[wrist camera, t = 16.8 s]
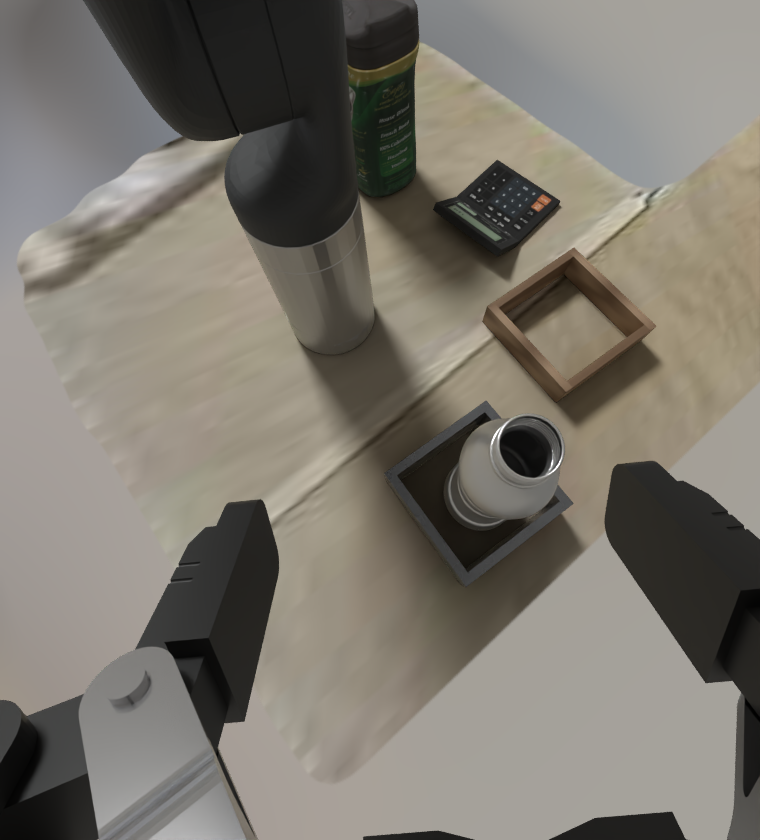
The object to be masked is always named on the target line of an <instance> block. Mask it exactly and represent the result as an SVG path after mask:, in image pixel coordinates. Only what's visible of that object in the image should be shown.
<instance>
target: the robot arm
mask: <svg viewBox="0 0 760 840" xmlns="http://www.w3.org/2000/svg"><path fill="white" fill-rule="evenodd" d="M83 1H84V2H85V4H86V6H87V7H88V8H89V10H90V12H91V13H92V15H93V16H94V18H95V20H96V21H97V23H98V25H99V26H100V28H101V29H102V31H103V33H104V34H105V36H106V37H107V39H108V41H109V42H110V44H111V45H112V47H113V48H114V50H115V52H116V53H117V55H118V57H119V58H120V60H121V61H122V63H123V64H124V66H125V67H126V69H127V70H128V72H129V73H130V75H131V76H132V78H133V79H134V81H135V82H136V84H137V85H138V87H139V89H140V90H141V91H142V93H143V95H144V96H145V97H146V99H147V100H148V101H149V103H150V104H151V105H152V107H153V108H154V109H155V110H156V112H157V113H158V114H159V115H160V116H161V117H162V118H163V120H165V121H166V122H167V123H168V124H169V125H170V126H171V127H172V128H173V129H174V130H175V131H177V132H178V133H179V134H181V135H182V136H184V137H186V138H188V139H191V140H195V141H218V140H225V139H229V138H233V137H237V136H239V134H240V133H241V134H242V135H244V134H245V135H244V136H243V137H242V138H241V139H240V140H239V141H238V143H237V144H236V145H235V147H234V148H233V150H232V152H231V154H230V156H229V158H228V161H227V164H226V168H225V176H224V178H225V188H226V193H227V196H228V199H229V201H230V204H231V206H232V208H233V210H234V212H235V214H236V216H237V218H238V220H239V222H240V224H241V226H242V228H243V230H244V232H245V234H246V236H247V238H248V240H249V242H250V244H251V246H252V248H253V250H254V252H255V254H256V256H257V258H258V260H259V262H260V264H261V266H262V268H263V270H264V272H265V274H266V276H267V278H268V280H269V282H270V284H271V286H272V288H273V290H274V292H275V294H276V296H277V298H278V301H279V303H280V305H281V307H282V309H283V311H284V313H285V315H286V317H287V319H288V321H289V323H290V325H291V327H292V329H293V331H294V333H295V335H296V337H297V338H298V340H299V341H300V342H301V343H302V344H303V345H304V346H305V347H306V348H308V349H310V350H312V351H314V352H317V353H321V354H328V355H333V354H341V353H344V352H347V351H350V350H352V349H354V348H355V347H357V346H358V345H359V344H361V343H362V342H363V341H364V340H365V339H366V337H367V336H368V335H369V333H370V331H371V329H372V327H373V323H374V304H373V297H372V288H371V280H370V273H369V265H368V257H367V250H366V242H365V234H364V227H363V219H362V213H361V205H360V197H359V190H358V181H357V174H356V161H355V152H354V143H353V134H352V123H351V110H350V95H349V78H348V61H347V46H346V34H345V24H344V13H343V3H342V0H83ZM605 529H606V534H607V537H608V539H609V542H610V543H611V546H612V547H613V549H614V550H615V551H616V553H617V554H618V556H619V557H620V559H621V560H622V562H623V563H624V564H625V566H626V568H627V569H628V571H629V572H630V573H631V575H632V576H633V578H634V579H635V581H636V582H637V584H638V585H639V587H640V588H641V589H642V591H643V592H644V594H645V595H646V597H647V598H648V600H649V601H650V602H651V604H652V605H653V607H654V608H655V610H656V611H657V613H658V614H659V615H660V617H661V619H662V620H663V622H664V623H665V624H666V626H667V627H668V629H669V630H670V632H671V633H672V635H673V636H674V637H675V639H676V640H677V642H678V643H679V645H680V646H681V648H682V649H683V651H684V652H685V654H686V655H687V657H688V658H689V659H690V661H691V662H692V664H693V665H694V667H695V668H696V670H697V671H698V673H699V674H700V676H701V677H702V678H703V680H704V681H705V683H713V682H724V681H733V682H734V683H735V685H736V686H737V687H738V689H739V690H740V691H741V695H740V697H739V700H738V704H737V729H736V731H737V732H736V761H735V792H734V793H735V794H734V810H733V816H732V821H731V826H730V829H729V833H728V837H727V840H760V539H758V538H757V537H756V536H755V535H754V534H753V533H752V532H750V531H749V530H748V529H746V530H745V529H744V525H743V524H741V523H740V522H739V521H738V520H737V519H736V518H735V517H734V516H733V515H729V514H728V511H727V510H726V509H725V508H724V507H723V506H721V505H720V504H719V503H718V502H717V501H716V500H714V498H712V497H711V496H710V495H709V494H707V493H705V492H704V491H702V490H699V489H698V488H696V487H694V486H692V485H690V484H688V483H686V482H684V481H676V480H675V479H674V478H673V477H672V476H671V475H670V474H669V473H668V472H667V471H666V470H665V469H664V468H663V467H662V466H661V465H659V464H658V463H657V462H655V461H645V462H635V463H625V464H617V465H616V466H615V467H614V468H613V471H612V476H611V482H610V488H609V494H608V500H607V507H606V513H605ZM278 573H279V556H278V550H277V546H276V542H275V539H274V535H273V531H272V528H271V524H270V521H269V517H268V514H267V510H266V507H265V504H264V502H263V501H262V500H261V499H260V500H250V501H240V502H230V503H227V505H226V506H225V508H224V510H223V512H222V515H221V517H220V519H219V521H218V523H217V526H213V527H205V528H204V529H203V530H202V531H201V532H200V533H199V534H198V535H197V536H196V537H195V538H194V539H193V540H192V541H191V542H190V543H189V544H188V546H187V548H186V550H185V552H184V554H183V556H182V558H181V560H180V562H179V567H177V568H176V570H175V572H174V574H173V576H172V578H171V583H170V584H168V586H167V588H166V590H165V592H164V593H163V596H162V597H161V600H160V602H159V603H158V605H157V608H156V609H155V612H154V613H153V615H152V617H151V619H150V621H149V623H148V625H147V627H146V629H145V631H144V633H143V635H142V637H141V639H140V641H139V643H138V645H137V647H136V649H135V650H133V651H131V652H128V653H126V654H125V655H122V656H121V657H119V658H117V659H116V660H115V661H113V662H111V663H110V664H109V665H108V666H106V667H105V668H104V669H103V670H102V671H101V672H100V673H99V674H98V675H97V676H96V678H95V679H94V680H93V681H92V682H91V684H90V685H89V687H88V688H87V690H86V692H85V693H84V694H83V695H80V696H78V697H75V698H73V699H71V700H68V701H65V702H62V703H60V704H57V705H55V706H52V707H49V708H47V709H44V710H42V711H39V712H37V713H34V714H31V715H29V716H26V715H25V714H24V713H23V712H22V711H21V709H20V708H19V707H18V706H17V705H16V704H15V703H13V702H11V701H6V700H0V840H97V839H99V840H258V838H257V836H256V834H255V831H254V829H253V827H252V824H251V822H250V820H249V818H248V815H247V813H246V811H245V808H244V806H243V803H242V801H241V799H240V796H239V794H238V792H237V790H236V787H235V785H234V783H233V780H232V778H231V776H230V773H229V771H228V769H227V766H226V764H225V762H224V759H223V757H222V755H221V753H220V750H219V748H218V744H219V741H220V737H221V733H222V730H223V726H224V723H232V722H244V721H245V717H246V712H247V708H248V703H249V700H250V695H251V690H252V687H253V682H254V678H255V674H256V669H257V665H258V661H259V656H260V652H261V648H262V643H263V639H264V635H265V630H266V626H267V622H268V617H269V613H270V609H271V605H272V600H273V596H274V592H275V587H276V583H277V579H278ZM363 840H473V839H469V838H465V837H461V836H457V835H454V834H449V833H446V832H441V831H427V832H415V833H402V834H390V835H377V836H366V837H363ZM549 840H686V839H685V837H684V835H683V833H682V831H681V829H680V827H679V825H678V823H677V821H676V819H675V817H674V815H673V813H672V812H664V813H652V814H638V815H626V816H614V817H601V818H594V819H592V820H590V821H588V822H586V823H583V824H582V825H579V826H577V827H575V828H573V829H571V830H569V831H566V832H564V833H562V834H560V835H558V836H556V837H554V838H552V839H549Z"/></svg>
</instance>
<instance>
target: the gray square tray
mask: <svg viewBox="0 0 760 840" xmlns="http://www.w3.org/2000/svg"><path fill="white" fill-rule="evenodd" d="M496 419H501V417H500V416H499V415H498V414H497V413H496V411H495V410H494V409H493V408H492V407H491V406H490V404H489V403H488V402H487V401H485V402H484V403H482V404H481V405H479V406H478V407H477V408H475V409H474V410H472V411H471V412H470V413H468V414H467V415H465V416H464V417H463V418H461V419H460V420H458V421H457V422H455V423H454V424H453V425H451V426H450V427H448V428H447V429H446V430H444V431H443V432H441V433H440V434H439V435H437V436H436V437H434V438H433V439H432V440H430V441H429V442H427V443H426V444H425V445H423V446H422V447H420V448H419V449H418V450H416V451H415V452H413V453H412V454H411V455H409V456H408V457H406V458H405V459H404V460H402V461H401V462H399V463H398V464H397V465H395V466H394V467H392V468H391V469H390V470H388V471H387V472H385V473H384V475H385V479H386V481H387V483H388V484H389V486H390V487H391V488H392V490H393V491H394V493H395V494H396V495H397V497H398V498H399V500H400V501H401V502H402V504H403V505H404V506H405V508H406V509H407V511H408V512H409V513H410V515H411V516H412V518H413V519H414V520H415V522H416V523H417V525H418V526H419V527H420V529H421V530H422V532H423V533H424V534H425V536H426V537H427V538H428V540H429V541H430V543H431V544H432V545H433V547H434V548H435V550H436V551H437V552H438V554H439V555H440V557H441V558H442V559H443V561H444V562H445V563H446V565H447V566H448V568H449V569H450V570H451V572H452V573H453V575H454V576H455V577H456V579H457V580H458V582H459V583H460V584H461V585H463V586H465V587H467V586H468V585H469V584H471V583H472V582H473V581H474V580H476V579H477V578H478V577H480V576H481V575H482V574H483V573H485V572H486V571H487V570H489V569H490V568H491V567H492V566H494V565H495V564H496V563H498V562H499V561H500V560H502V559H503V558H504V557H505V556H507V555H508V554H509V553H511V552H512V551H513V550H514V549H516V548H517V547H518V546H520V545H521V544H522V543H523V542H525V541H526V540H527V539H529V538H530V537H531V536H532V535H534V534H535V533H536V532H538V531H539V530H540V529H541V528H543V527H544V526H545V525H547V524H548V523H549V522H550V521H552V520H553V519H554V518H556V517H557V516H558V515H560V514H561V513H562V512H563V511H565V510H566V509H567V508H569V507H570V506H571V505H572V504H574V503H573V502H572V501H571V500H570V499H569V497H568V496H567V495H566V494H565V493H564V492H563V490H562V489H561V488H560V487H559V486H558V485H557V488H556V491H555V493H554V495H553V497H552V498H551V500H550V501H549V502H548V504H547V505H546V507H545V508H544V509H542V510H541V511H540V512H539V513H537V514H536V515H535V516H533V517H532V518H531V519H529V520H528V521H527V522H526V523H524V524H523V525H522V526H520V527H519V528H518V529H516V530H515V531H514V532H513V533H511V534H510V535H509V536H507V537H506V538H505V539H503V540H502V541H501V542H500V543H498V544H497V545H496V546H494V547H493V548H492V549H490V550H489V551H488V552H487V553H485V554H484V555H483V556H481V557H480V558H479V559H477V560H476V561H475V562H474V563H472V564H471V565H470V566H468V567H467V568H466V569H465V568H464V567H463V565H462V564H461V563H460V561H459V560H458V559H457V557H456V556H455V554H454V553H453V552H452V550H451V549H450V548H449V546H448V545H447V544H446V542H445V541H444V539H443V538H442V537H441V535H440V534H439V533H438V531H437V530H436V528H435V527H434V526H433V524H432V523H431V522H430V520H429V519H428V518H427V516H426V515H425V513H424V512H423V511H422V509H421V508H420V507H419V505H418V504H417V502H416V501H415V500H414V498H413V497H412V496H411V494H410V493H409V491H408V490H407V489H406V487H405V486H404V485H403V483H402V482H401V480H402V479H404V478H405V477H406V476H408V475H409V474H410V473H412V472H413V471H415V470H416V469H417V468H419V467H420V466H422V465H423V464H424V463H426V462H427V461H429V460H430V459H431V458H433V457H434V456H435V455H437V454H438V453H440V452H441V451H442V450H444V449H445V448H447V447H448V446H449V445H451V444H452V443H454V442H455V441H456V440H458V439H459V438H460V437H462V436H463V435H465V434H466V433H467V432H469V431H470V430H472V429H473V428H474V427H476V426H477V425H479V426H481V425H483V424H485V423H487V422H489V421H492V420H496Z"/></svg>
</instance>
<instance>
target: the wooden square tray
mask: <svg viewBox="0 0 760 840" xmlns="http://www.w3.org/2000/svg"><path fill="white" fill-rule="evenodd" d="M563 274H564V275H565V276H566V277H567V278H568V279H569V280H570V281H571V282H572V283H573V284H574V285H575V286H576V287H577V288H578V289H579V290H580V291H581V292H582V293H583V294H585V295H586V296H587V297H588V298H589V299H590V300H591V301H592V302H593V303H594V304H595V305H596V306H597V307H598V308H599V309H600V310H601V311H602V312H603V313H604V314H605V315H606V316H607V317H608V318H609V319H610V320H611V321H612V322H613V323H614V324H615V325H616V326H617V327H618V328H619V329H620V330H621V331H622V332H623V333H624V334H625V335H626V336H627V338H626V339H624V340H623V341H621V342H620V343H619V344H617V345H616V346H615V347H613V348H612V349H610V350H609V351H608V352H606V353H605V354H604V355H602V356H601V357H599V358H598V359H597V360H595V361H594V362H593V363H591V364H590V365H588V366H587V367H586V368H584V369H583V370H582V371H580V372H579V373H577V374H576V375H575V376H573V377H572V378H571V379H569V380H568V381H566V380H565V379H564V378H563V376H562V375H561V374H560V373H559V372H558V371H557V370H556V369H555V368H554V367H553V366H552V365H551V364H550V362H549V361H548V360H547V359H546V358H545V357H544V356H543V355H542V354H541V353H540V352H539V351H538V350H537V348H536V347H535V346H534V345H533V344H532V343H531V342H530V341H529V340H528V339H527V338H526V337H525V336H524V334H523V333H522V332H521V331H520V330H519V329H518V328H517V327H516V326H515V325H514V324H513V323H512V322H511V320H510V319H509V318H508V317H507V316H506V315H505V314H506V313H508V312H509V311H511V310H512V309H514V308H515V307H517V306H518V305H520V304H521V303H522V302H524V301H525V300H527V299H528V298H530V297H531V296H533V295H534V294H536V293H537V292H538V291H540V290H541V289H543V288H544V287H546V286H547V285H549V284H550V283H552V282H553V281H554V280H556V279H557V278H559V277H560V276H562V275H563ZM483 323H484V324H485V325H486V326H487V327H488V328H489V329H490V330H491V331H492V332H493V334H494V335H495V336H496V337H497V338H498V339H499V340H500V341H501V342H502V344H503V345H504V346H505V347H506V348H507V349H508V350H509V351H510V352H511V353H512V355H513V356H514V357H515V358H516V359H517V360H518V361H519V362H520V363H521V365H522V366H523V367H524V368H525V369H526V370H527V371H528V372H529V373H530V374H531V376H532V377H533V378H534V379H535V380H536V381H537V382H538V383H539V384H540V386H541V387H542V388H543V389H544V390H545V391H546V392H547V393H548V394H549V396H550V397H551V398H552V399H553V400H554V401H555V402H556V403H557V402H558V401H559V400H561V399H562V398H563V397H565V396H566V395H568V394H569V393H570V392H572V391H573V390H574V389H576V388H577V387H578V386H580V385H581V384H583V383H584V382H585V381H587V380H588V379H589V378H591V377H592V376H593V375H595V374H596V373H598V372H599V371H600V370H602V369H603V368H604V367H606V366H607V365H608V364H610V363H611V362H613V361H614V360H615V359H617V358H618V357H619V356H621V355H622V354H623V353H625V352H626V351H628V350H629V349H630V348H632V347H633V346H634V345H636V344H637V343H638V342H640V341H641V340H642V339H643V338H644V337H646V336H647V335H648V334H649V333H650V332H651V331H652V330H653V329H654V328H655V327H656V325H655V324H654V323H653V322H652V321H651V320H650V319H649V318H648V317H647V316H646V315H644V314H643V313H642V312H641V311H640V310H639V309H638V308H637V307H636V306H635V305H634V304H633V303H632V302H631V301H630V300H629V299H628V298H627V297H626V296H624V295H623V294H622V293H621V292H620V291H619V290H618V289H617V288H616V287H615V286H614V285H613V284H612V283H611V282H610V281H609V280H608V279H607V278H606V277H604V276H603V275H602V274H601V273H600V272H599V271H598V270H597V269H596V268H595V267H594V266H593V265H592V264H591V263H590V262H589V261H588V260H587V259H586V258H584V257H583V256H582V255H581V254H580V253H579V252H578V251H577V250H576V249H575V248H572V249H571V250H570V251H568V252H567V253H565V254H564V255H562V256H561V257H559V258H558V259H556V260H555V261H553V262H552V263H550V264H549V265H547V266H546V267H544V268H543V269H542V270H540V271H539V272H537V273H536V274H534V275H533V276H531V277H530V278H528V279H527V280H525V281H524V282H522V283H521V284H519V285H518V286H516V287H515V288H514V289H512V290H511V291H509V292H508V293H506V294H505V295H503V296H502V297H500V298H499V299H497V300H496V301H494V302H493V303H491V304H490V305H488V306H487V309H486V312H485V315H484V318H483Z"/></svg>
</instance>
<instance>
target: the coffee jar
mask: <svg viewBox="0 0 760 840" xmlns="http://www.w3.org/2000/svg"><path fill="white" fill-rule="evenodd" d="M342 3H343V13H344V24H345V34H346V46H347V61H348V78H349V95H350V110H351V123H352V134H353V143H354V152H355V161H356V174H357V181H358V188H359V189H360V190H362V191H363V192H364V193H365V194H367V195H369V196H372V197H382V196H386V195H390V194H392V193H395V192H397V191H399V190H400V189H402V188H404V187H405V186H406V185H407V184H409V183H410V182H411V181H412V179H413V178H414V176H415V173H416V139H415V89H414V79H415V63H416V57H417V53H418V49H419V26H418V10H417V5H416V3H415V1H414V0H342Z"/></svg>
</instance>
